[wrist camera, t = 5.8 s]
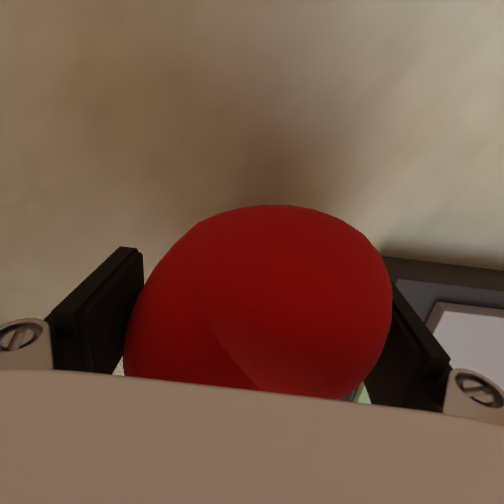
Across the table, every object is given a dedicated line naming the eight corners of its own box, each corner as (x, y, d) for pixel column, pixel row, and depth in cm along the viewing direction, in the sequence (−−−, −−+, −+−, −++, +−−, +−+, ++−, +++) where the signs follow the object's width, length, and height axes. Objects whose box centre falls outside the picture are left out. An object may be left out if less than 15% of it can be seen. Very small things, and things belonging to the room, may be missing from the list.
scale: (322, 416, 22) (331, 463, 19) (379, 255, 16) (404, 287, 13) (525, 439, 23) (564, 488, 20) (654, 289, 17) (738, 328, 14)
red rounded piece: (295, 132, 14) (356, 172, 5) (360, 245, 16) (483, 415, 7) (151, 234, 16) (11, 385, 7) (225, 318, 19) (190, 511, 10)
